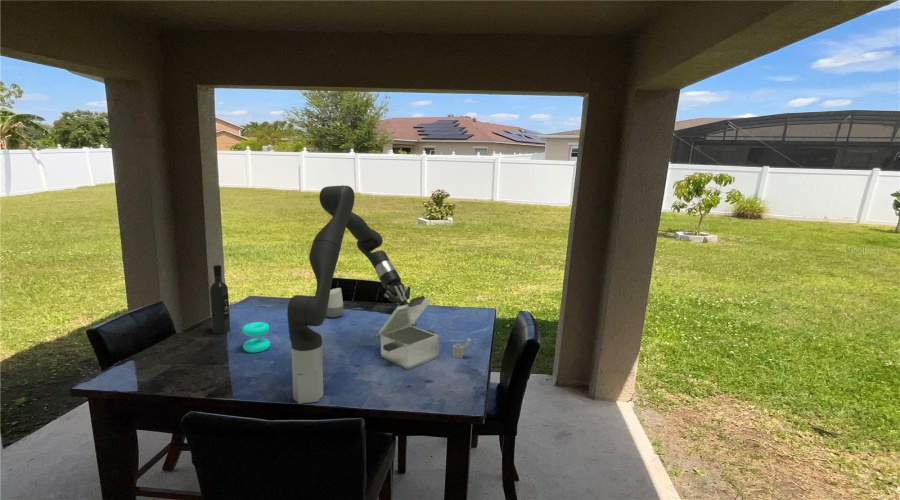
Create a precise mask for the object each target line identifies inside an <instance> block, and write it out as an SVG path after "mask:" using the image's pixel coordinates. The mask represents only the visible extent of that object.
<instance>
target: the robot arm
mask: <svg viewBox="0 0 900 500" xmlns="http://www.w3.org/2000/svg"><path fill="white" fill-rule="evenodd" d="M355 200H356V199H355V191H354V189H353V187H351V186H349V185H329V186H325V187H323V188H322V189H321V190H320V192H319V203H320V205H321V207H322V208H323V210H324V211H325V212H326V213H327V214H328V215H330V216H332V217H331V219H330V220H329V221H328V222H327V223H326V224H325V225H324V227H322V229H320V231H318V233H317V234H316V235H315V236H314V239H313V241H312V243H311V248H310V251H309V254H308V259H309V260H308V261H309V264H310V266H311V269H312V272H313V275H314V276H315V280H316V289H315V294H314V295H304V294H303V295H302V294H300V295H299V294H297V295H293V296H292V297H291V298H290V299H289V301H288V304H287V312H286V314H287V324H288V325H287V326H288V336H289V341H290V345H291V370H292V371H291V372H292V377H291V378H292V398H293V400H294V401H295V402H296V403H297V404H298V405H301V404H308V403H316V402H319V401H320V399H321V398H323V396H324V377H323V376H324V373H323V370H324V367H323V365H324V364H323V362H324V361H323V338H322V335H321V334H320V333H318V332H317V331H314V330H313V329H311V328H310V327H320V326H321V325H322V324H323V323H324V322H325V319H326V317H327V316H326V313H327V308H328V302H329V296H330V290H332V289H331V288H332V284H333V279H334V276H335V270H336V268H337V264H338V259H339V256H340V252H341V248H342V244H343V239H344V236H345V232H346V229H347V230H348V232H350V233H351V235H352V236H353V237H354V238H355V239H356V240H357V241H356V247H357V248H358V250H359V251H360V252H361V253H362V254H363V255H364V256H365V257H366V258H367V259H368V261H369V262H370V263H371V265H372V267H373V269H374V270H375V273H376V275H377V278H378V279H379V281H380V282H381V285H382V286H383V288H384V289H385V291H386V292H385V293H384V295H383V297H384V298H385V299H387V300H388V301H389V302H391V303H393V304H395V305H396V304H398V305H400V306H403V305H407V304H409V302H408V300H409V299H410V297H411V287H410V286H405V284H404V283H403V282H402V279H401V276H400V275H399V273H398V272H397V269H396V268H395V265H393V263H392V262H391V260H390V258H389V257H388V255H387V253H386V252H385V251H384V250H377V249H378V248H379V247H381V246H382V244H383V241H384V240H383V237H382V235H381V233H379V231H377V230H375V229H373V228H371V227H370V226H369V225H368V224H367V222H366V221H365V220H364V219H363V218H362V217H361V216H360V215H358V214H356V213H355V212H353V208H354V204H355ZM374 250H376V251H374ZM373 251H374V252H373ZM400 306H399V307H400Z"/></svg>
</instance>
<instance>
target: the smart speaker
mask: <svg viewBox="0 0 900 500" xmlns="http://www.w3.org/2000/svg"><path fill="white" fill-rule="evenodd" d="M343 299H344V298H343V293H342V288H341V287H336V288H332V289H331V290H330V296H329V302H328V308H327V313H326V317H327V318H330V319H337V318H340V317H342V316H343V313H344V301H343Z"/></svg>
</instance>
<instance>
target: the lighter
mask: <svg viewBox="0 0 900 500" xmlns="http://www.w3.org/2000/svg"><path fill="white" fill-rule="evenodd" d="M471 341H472V339H471V338H470V337H469V338H467V339H466V341H465V344H463V345H462V343H455V344H453V346H452V358H458V359H459V358H461V359H464V349H465V350H467V348H468V346H469V344H470V343H471Z"/></svg>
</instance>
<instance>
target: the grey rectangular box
mask: <svg viewBox="0 0 900 500" xmlns="http://www.w3.org/2000/svg"><path fill="white" fill-rule="evenodd" d="M417 324H418V323H417V322H416V321H415V322H414V323H413V324H412V325H410V326H407V327H404V328H401V329H398V330H394V331H391V332H388V333H385V334H382V335H379V333H377V334H375V335H374V336H373V337H374V339H379V338H380V358H383V359H384V360H387V361H389V362H392V363H393V364H395V365H397V366H399V367H402V368H404V369H405V370H406V369H407V370H411V369H413V368H415V367H417V366H420V365H423V364H426V363H428V362H429V361H432V360H435V359H437V358H439V345H440V344H439V341H440V340H439V337H440V336H439V335H438V334H436V333H435V332H434V331H433V330H431V329H428V330H425V329H422V328H419V327H417Z"/></svg>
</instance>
